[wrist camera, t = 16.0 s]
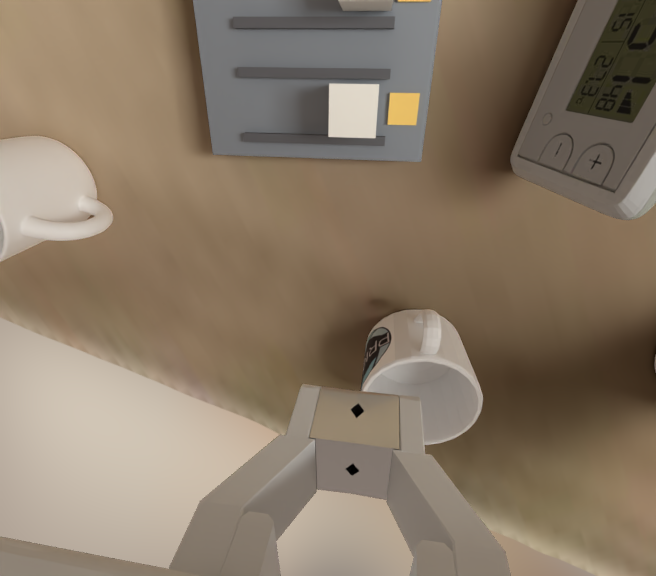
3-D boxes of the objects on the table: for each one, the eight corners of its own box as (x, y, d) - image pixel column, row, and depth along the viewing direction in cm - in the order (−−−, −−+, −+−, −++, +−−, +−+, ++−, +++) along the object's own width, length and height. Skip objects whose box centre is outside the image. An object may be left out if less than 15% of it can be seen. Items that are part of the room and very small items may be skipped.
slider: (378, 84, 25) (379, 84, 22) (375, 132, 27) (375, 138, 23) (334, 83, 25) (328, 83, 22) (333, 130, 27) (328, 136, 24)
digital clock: (628, -115, 22) (814, -260, 13) (751, -41, 23) (1008, -125, 13) (469, 151, 30) (511, 181, 20) (565, 198, 31) (647, 248, 21)
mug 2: (454, 389, 41) (469, 451, 34) (359, 380, 42) (356, 439, 35) (480, 283, 35) (506, 333, 28) (368, 275, 36) (366, 322, 29)
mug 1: (143, 168, 33) (57, 200, 24) (136, 248, 37) (60, 300, 28) (10, 119, 33) (-129, 133, 24) (18, 206, 37) (-99, 246, 28)
